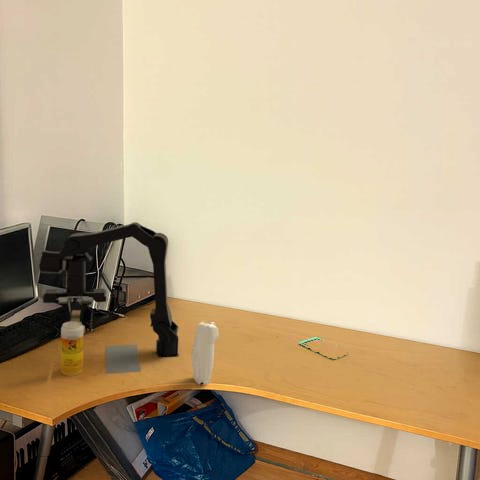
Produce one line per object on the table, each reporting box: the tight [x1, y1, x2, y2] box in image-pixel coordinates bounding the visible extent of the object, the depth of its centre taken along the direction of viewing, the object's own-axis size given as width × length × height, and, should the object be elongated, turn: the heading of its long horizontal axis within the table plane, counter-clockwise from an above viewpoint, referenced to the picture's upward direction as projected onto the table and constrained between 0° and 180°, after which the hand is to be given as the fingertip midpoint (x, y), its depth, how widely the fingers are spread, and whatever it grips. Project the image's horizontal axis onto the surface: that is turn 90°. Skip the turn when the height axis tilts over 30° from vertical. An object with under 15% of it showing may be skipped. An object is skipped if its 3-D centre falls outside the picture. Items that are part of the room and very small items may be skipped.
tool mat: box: [105, 344, 141, 374], centre depth 156 cm, size 10×20×1 cm, turn 15°
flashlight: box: [191, 321, 219, 386], centre depth 144 cm, size 7×18×7 cm
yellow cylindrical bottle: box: [60, 321, 84, 377], centre depth 144 cm, size 6×6×15 cm
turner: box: [69, 309, 86, 336], centre depth 157 cm, size 15×6×3 cm, turn 15°
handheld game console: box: [298, 336, 335, 348], centre depth 176 cm, size 10×16×1 cm, turn 41°
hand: (75, 321), depth 159 cm, fingers closed on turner, 3 cm apart
